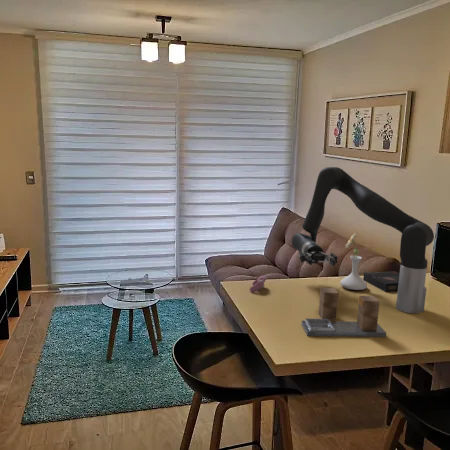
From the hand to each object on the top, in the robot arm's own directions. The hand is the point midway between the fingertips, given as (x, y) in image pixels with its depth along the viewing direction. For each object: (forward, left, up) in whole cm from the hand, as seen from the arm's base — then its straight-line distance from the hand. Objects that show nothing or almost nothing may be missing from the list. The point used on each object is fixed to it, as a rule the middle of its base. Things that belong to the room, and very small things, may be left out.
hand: (322, 262), depth 175 cm
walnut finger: (0, +11, -17) cm, 20 cm away
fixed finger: (-10, +23, -15) cm, 30 cm away
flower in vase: (-20, -22, -17) cm, 34 cm away
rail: (-2, +23, -17) cm, 29 cm away
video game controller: (+21, -18, -17) cm, 33 cm away
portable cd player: (-39, -28, -18) cm, 51 cm away
